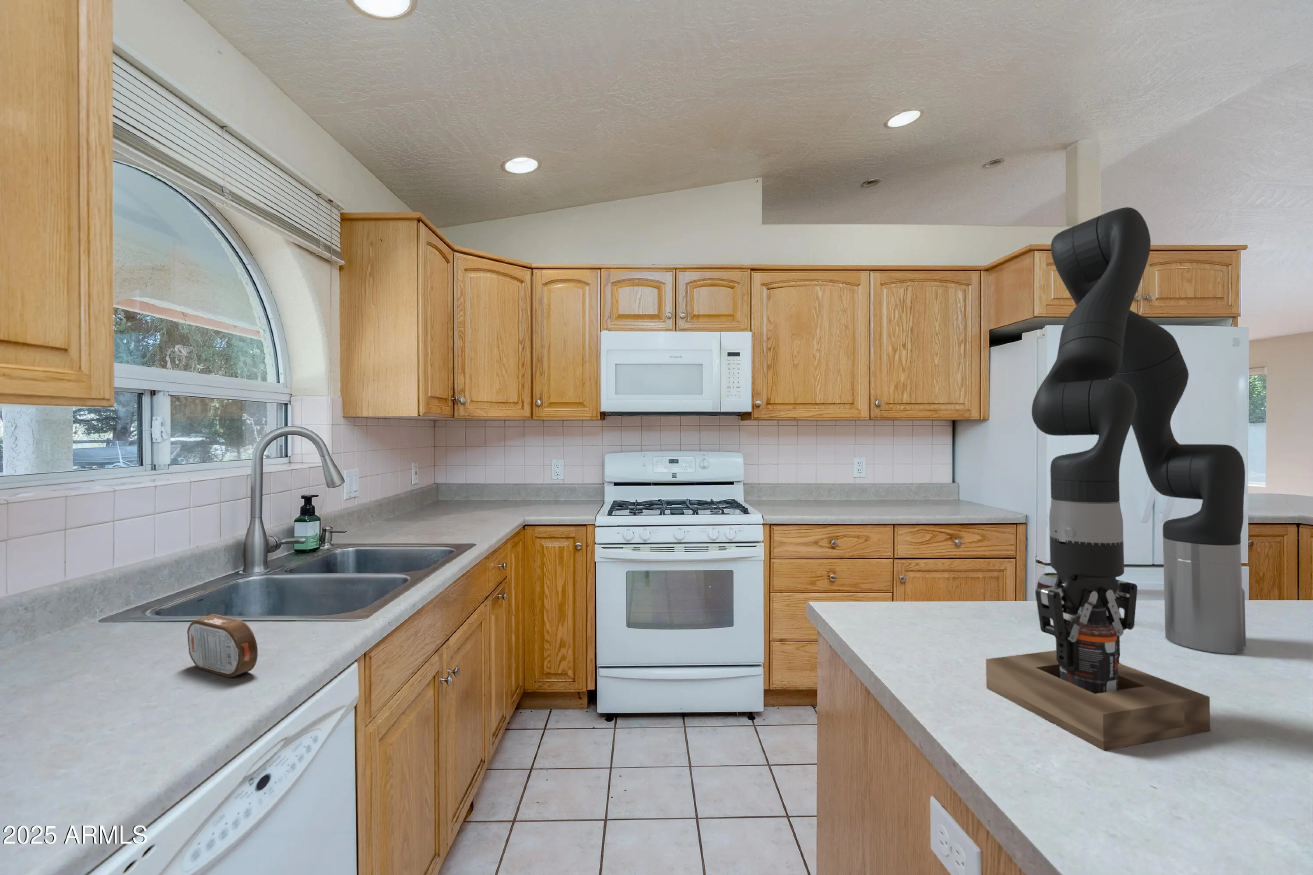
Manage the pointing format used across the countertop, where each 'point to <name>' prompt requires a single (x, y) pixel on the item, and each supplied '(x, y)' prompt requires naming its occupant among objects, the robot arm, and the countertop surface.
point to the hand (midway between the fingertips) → (1088, 664)
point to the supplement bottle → (1095, 655)
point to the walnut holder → (1100, 702)
